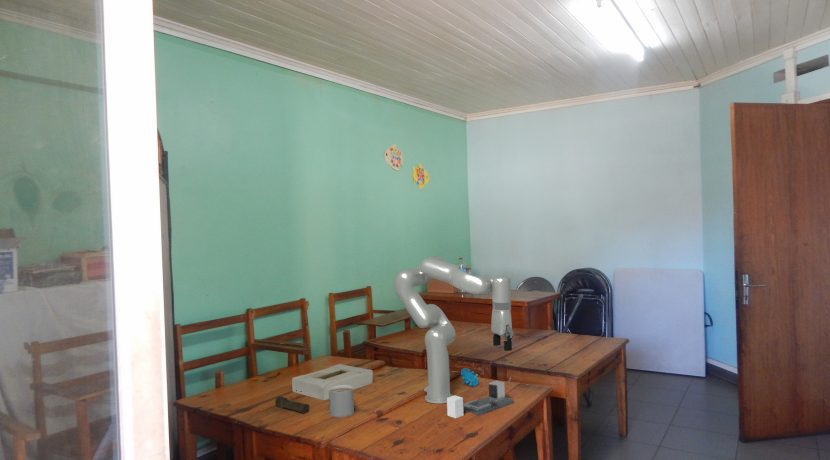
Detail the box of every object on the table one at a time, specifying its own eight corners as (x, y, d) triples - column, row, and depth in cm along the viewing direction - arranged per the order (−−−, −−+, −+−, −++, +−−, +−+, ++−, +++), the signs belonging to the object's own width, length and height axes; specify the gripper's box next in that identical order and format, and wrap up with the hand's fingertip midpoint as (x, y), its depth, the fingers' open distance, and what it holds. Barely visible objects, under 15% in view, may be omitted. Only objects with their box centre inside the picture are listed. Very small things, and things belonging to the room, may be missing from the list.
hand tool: (310, 412, 217) (309, 401, 217) (302, 415, 214) (302, 403, 214) (281, 404, 228) (280, 394, 228) (273, 407, 225) (273, 396, 225)
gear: (469, 385, 240) (458, 367, 246) (462, 393, 243) (451, 375, 248) (484, 383, 248) (473, 366, 253) (477, 391, 250) (466, 373, 256)
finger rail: (461, 409, 213) (460, 388, 213) (495, 397, 227) (494, 378, 227) (479, 415, 206) (478, 394, 206) (513, 402, 219) (512, 382, 219)
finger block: (447, 415, 207) (446, 397, 207) (456, 412, 211) (456, 394, 211) (455, 418, 204) (454, 400, 204) (464, 414, 207) (464, 397, 207)
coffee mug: (343, 418, 207) (342, 393, 207) (324, 414, 213) (323, 390, 213) (364, 408, 218) (363, 384, 219) (345, 405, 224) (345, 381, 224)
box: (324, 402, 231) (373, 383, 256) (323, 384, 231) (373, 367, 256) (291, 394, 245) (341, 377, 270) (290, 377, 245) (340, 362, 270)
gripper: (484, 304, 221) (484, 344, 221) (503, 310, 204) (503, 353, 205) (500, 303, 223) (500, 342, 223) (520, 308, 207) (520, 351, 207)
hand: (502, 347), depth 214 cm, fingers open, 9 cm apart
